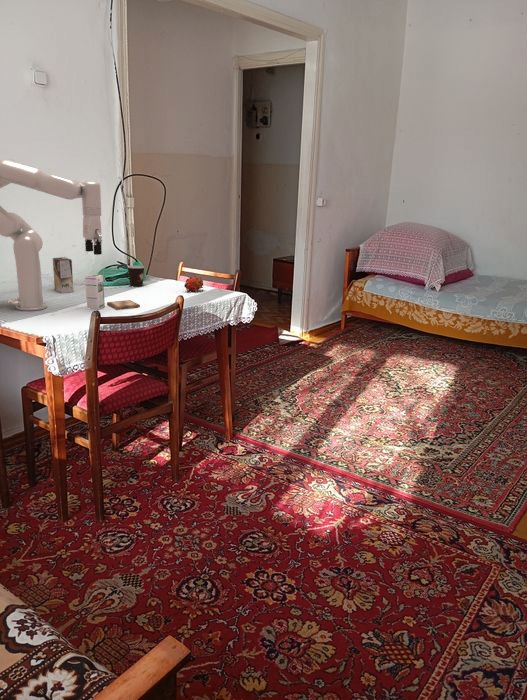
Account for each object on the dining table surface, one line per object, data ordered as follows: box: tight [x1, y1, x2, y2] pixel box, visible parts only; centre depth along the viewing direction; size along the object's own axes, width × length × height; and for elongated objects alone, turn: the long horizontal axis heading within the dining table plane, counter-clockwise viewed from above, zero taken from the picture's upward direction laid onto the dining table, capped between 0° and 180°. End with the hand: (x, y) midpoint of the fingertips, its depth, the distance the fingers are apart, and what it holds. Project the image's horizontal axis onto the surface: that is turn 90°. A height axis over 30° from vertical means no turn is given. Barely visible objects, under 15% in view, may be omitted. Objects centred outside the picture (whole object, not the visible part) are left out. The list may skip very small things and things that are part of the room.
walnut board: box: [106, 299, 141, 311], centre depth 257 cm, size 11×11×1 cm
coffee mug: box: [125, 265, 145, 288], centre depth 300 cm, size 12×9×10 cm
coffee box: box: [52, 256, 74, 294], centre depth 281 cm, size 9×6×16 cm
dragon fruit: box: [183, 275, 204, 292], centre depth 295 cm, size 8×8×12 cm
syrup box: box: [84, 273, 106, 310], centre depth 250 cm, size 6×6×14 cm
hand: (93, 252), depth 245 cm, fingers open, 9 cm apart
